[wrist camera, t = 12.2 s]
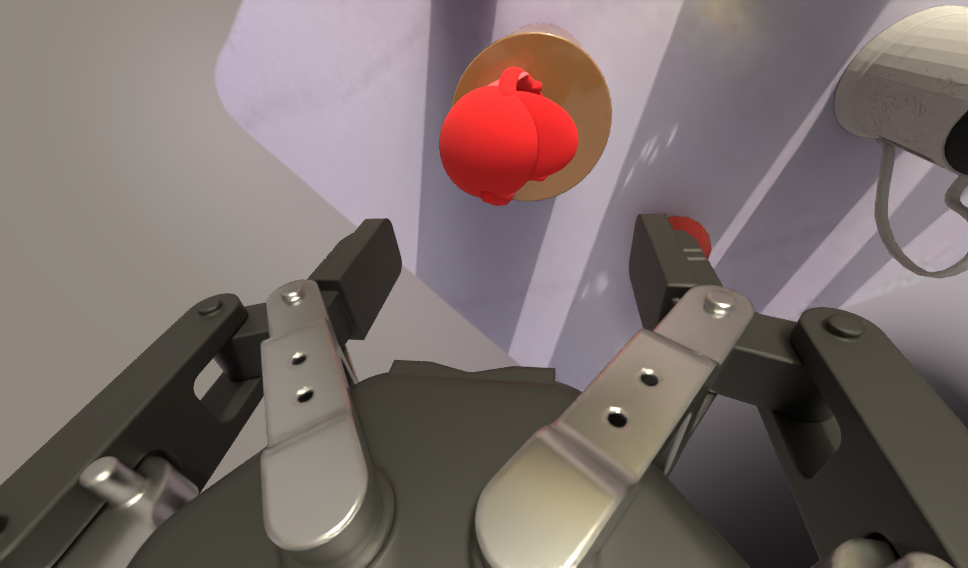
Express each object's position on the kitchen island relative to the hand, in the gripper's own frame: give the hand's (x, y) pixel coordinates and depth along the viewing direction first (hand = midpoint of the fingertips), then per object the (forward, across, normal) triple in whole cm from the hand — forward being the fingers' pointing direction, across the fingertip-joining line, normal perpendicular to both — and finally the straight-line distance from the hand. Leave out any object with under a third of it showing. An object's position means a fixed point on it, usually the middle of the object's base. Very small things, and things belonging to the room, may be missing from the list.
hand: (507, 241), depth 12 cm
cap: (+12, 0, 0) cm, 12 cm away
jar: (+25, 0, 0) cm, 25 cm away
